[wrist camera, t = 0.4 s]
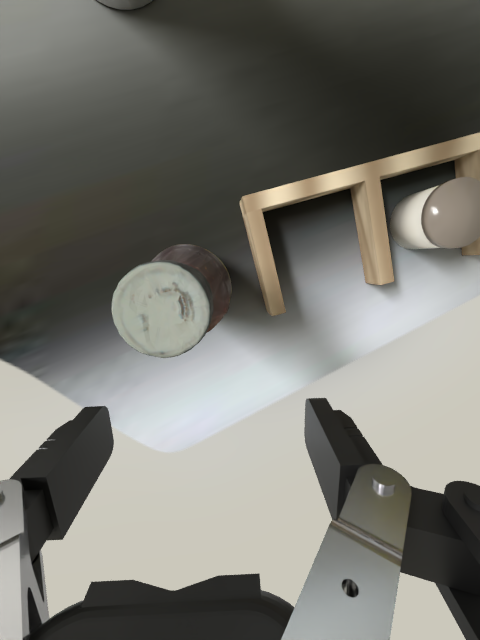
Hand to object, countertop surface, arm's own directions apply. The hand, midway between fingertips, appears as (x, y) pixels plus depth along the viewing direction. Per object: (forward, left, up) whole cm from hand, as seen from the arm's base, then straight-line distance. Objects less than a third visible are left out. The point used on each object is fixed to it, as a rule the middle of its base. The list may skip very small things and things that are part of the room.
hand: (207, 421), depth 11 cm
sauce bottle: (-4, -2, -21) cm, 21 cm away
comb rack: (-14, +14, -21) cm, 29 cm away
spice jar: (-16, +20, -21) cm, 33 cm away
